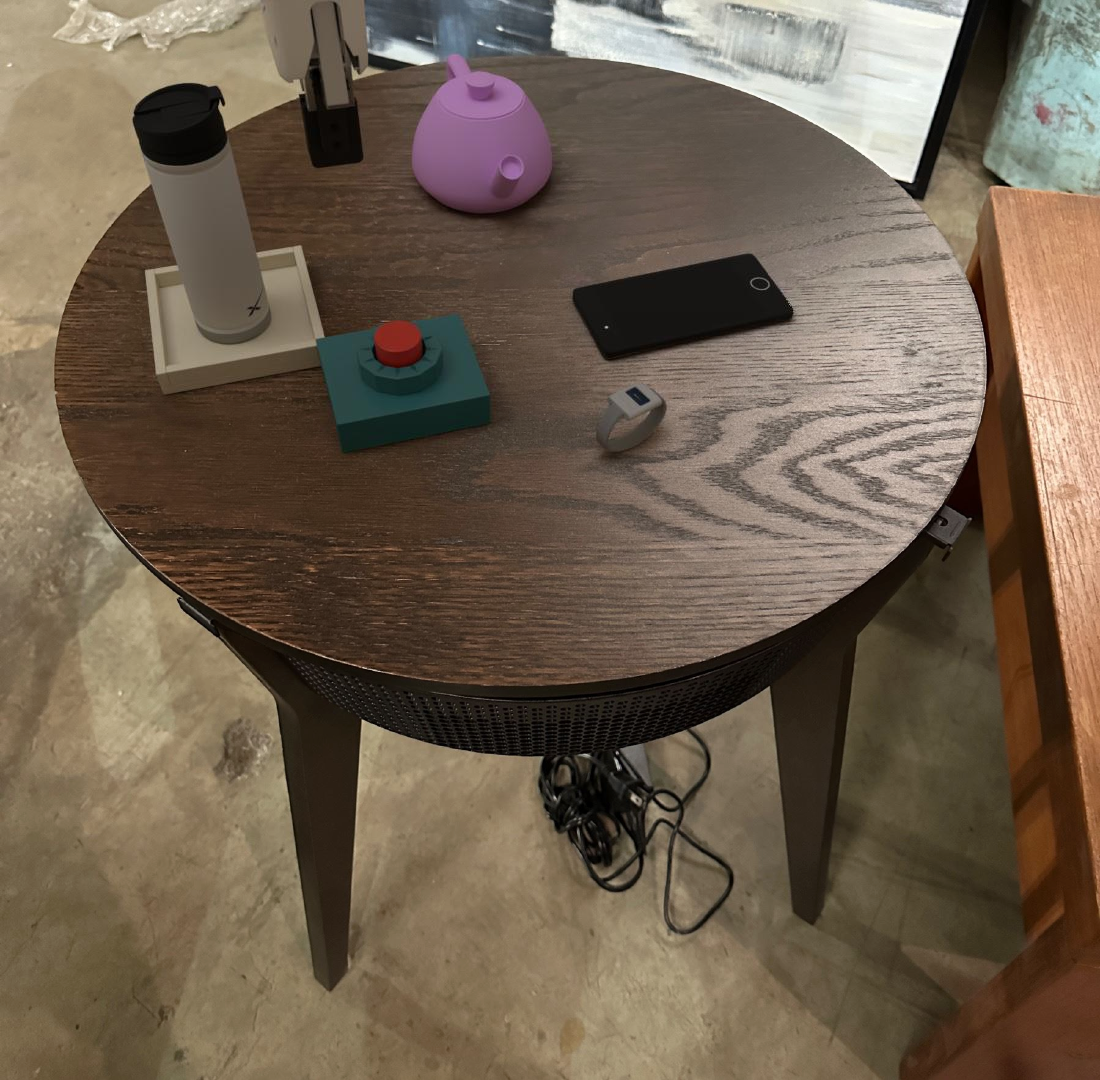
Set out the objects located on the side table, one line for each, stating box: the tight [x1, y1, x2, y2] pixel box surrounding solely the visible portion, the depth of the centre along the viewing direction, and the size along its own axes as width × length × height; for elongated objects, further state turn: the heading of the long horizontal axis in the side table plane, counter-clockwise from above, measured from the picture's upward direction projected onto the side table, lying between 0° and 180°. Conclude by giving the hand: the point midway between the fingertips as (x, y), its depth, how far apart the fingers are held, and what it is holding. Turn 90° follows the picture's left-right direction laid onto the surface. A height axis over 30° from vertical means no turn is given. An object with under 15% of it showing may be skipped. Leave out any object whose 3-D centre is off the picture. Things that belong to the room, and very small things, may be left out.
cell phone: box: [572, 252, 795, 360], centre depth 91 cm, size 9×18×1 cm, turn 109°
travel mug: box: [132, 82, 271, 343], centre depth 80 cm, size 6×7×20 cm
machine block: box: [316, 313, 492, 454], centre depth 82 cm, size 12×10×5 cm
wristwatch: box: [595, 380, 668, 453], centre depth 80 cm, size 6×3×5 cm, turn 126°
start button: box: [374, 320, 423, 368], centre depth 80 cm, size 4×4×2 cm
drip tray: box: [144, 245, 326, 396], centre depth 88 cm, size 14×14×2 cm
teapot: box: [411, 53, 553, 214], centre depth 98 cm, size 14×20×11 cm
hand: (336, 157), depth 64 cm, fingers closed
